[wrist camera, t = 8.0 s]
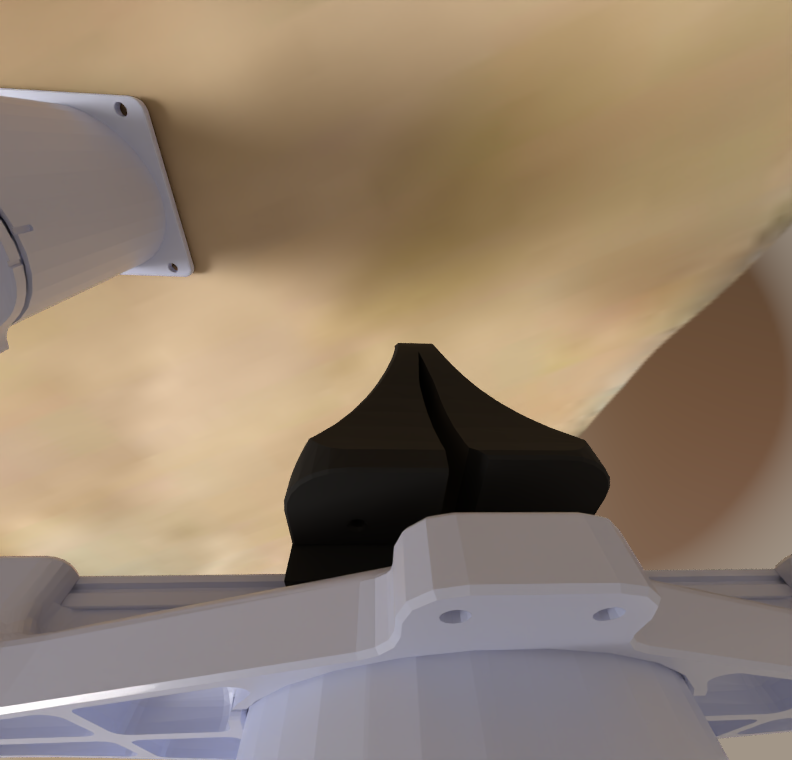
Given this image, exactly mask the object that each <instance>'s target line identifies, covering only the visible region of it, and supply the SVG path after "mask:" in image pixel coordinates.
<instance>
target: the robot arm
mask: <svg viewBox="0 0 792 760" xmlns="http://www.w3.org/2000/svg"><path fill="white" fill-rule="evenodd" d="M121 103H122V104H123V105H124V106H125V107H126V109H127V115H126V116H124V115H123V114H122V112H121V110H120V105H121ZM172 263H173V264H175V265H176V266H177V268H178V270H175V269H174V268H173V267H172ZM193 272H194V265H193V262H192V258H191V255H190V252H189V248H188V245H187V241H186V238H185V235H184V231H183V228H182V224H181V221H180V218H179V214H178V211H177V207H176V204H175V201H174V197H173V194H172V190H171V187H170V183H169V180H168V177H167V173H166V170H165V166H164V163H163V160H162V156H161V153H160V149H159V146H158V143H157V139H156V136H155V132H154V129H153V126H152V122H151V119H150V115H149V112H148V110H147V107H146V106H145V104H144V103H143V102H142V101H141V100H140V99H138V98H136V97H132V96H124V95H108V94H91V93H74V92H57V91H41V90H24V89H7V88H0V353H2V352H4V351H5V350H7V349H9V346H8V342H7V331H8V328H9V327H10V326H12V325H14V324H16V323H18V322H20V321H22V320H24V319H26V318H29V317H31V316H33V315H35V314H37V313H39V312H41V311H43V310H45V309H48V308H50V307H52V306H54V305H56V304H58V303H60V302H62V301H64V300H67V299H69V298H71V297H73V296H75V295H77V294H79V293H81V292H83V291H86V290H88V289H90V288H92V287H94V286H96V285H98V284H100V283H102V282H104V281H107V280H109V279H111V278H113V277H115V276H117V275H148V276H178V277H187V276H189V275H191V274H192V273H193ZM609 487H610V477H609V475H608V473H607V471H606V469H605V468H604V466H603V465H602V464H601V462H600V460H599V459H598V457H597V456H596V454H595V453H594V452H593V451H592V449H591V447H590V446H589V445H588V444H587V442H586V441H585V440H583V439H580V438H577V437H575V436H572V435H569V434H566V433H563V432H561V431H558V430H555V429H552V428H550V427H547V426H545V425H543V424H541V423H538V422H536V421H534V420H532V419H529V418H527V417H525V416H523V415H521V414H519V413H517V412H515V411H514V410H512V409H510V408H508V407H507V406H505V405H503V404H501V403H500V402H498V401H496V400H495V399H493V398H492V397H490V396H489V395H487V394H486V393H485V392H483V391H482V390H480V389H479V388H478V387H476V386H475V385H474V384H473V383H471V382H470V381H469V380H468V379H467V378H465V377H464V376H463V375H462V374H461V373H460V372H459V371H458V370H457V369H456V368H455V367H454V366H453V365H452V364H451V363H450V362H449V361H448V360H447V359H446V358H445V357H444V356H443V355H442V354H441V353H440V352H439V351H438V349H437V348H436V347H435V346H434V345H433V344H417V343H398V344H397V345H395V351H394V354H393V357H392V359H391V362H390V363H389V365H388V367H387V369H386V371H385V373H384V374H383V376H382V377H381V379H380V381H379V382H378V384H377V385H376V386H375V388H374V389H373V390H372V391H371V393H370V394H369V395H368V396H367V397H366V398H365V399H364V400H363V401H362V402H361V403H360V404H359V405H358V406H357V407H356V408H355V409H354V410H353V411H352V412H351V413H349V414H348V415H347V416H346V417H344V418H343V419H342V420H340V421H339V422H338V423H336V424H335V425H333V426H332V427H330V428H328V429H326V430H325V431H323V432H321V433H319V434H318V435H316V436H314V437H312V438H310V439H309V440H308V442H307V444H306V445H305V447H304V449H303V451H302V453H301V455H300V457H299V459H298V461H297V463H296V465H295V468H294V470H293V472H292V475H291V478H290V481H289V485H288V488H287V492H286V496H285V499H284V511H285V515H286V519H287V523H288V527H289V531H290V535H291V539H292V543H293V544H292V549H291V553H290V557H289V562H288V566H287V570H286V574H249V575H157V576H79V574H78V572H77V571H76V569H75V568H74V567H73V566H72V565H71V564H70V563H68V562H67V561H65V560H63V559H60V558H57V557H50V556H0V758H1V757H2V758H3V757H81V758H82V757H84V758H86V757H87V758H130V759H131V758H132V759H171V760H173V759H174V760H729V759H728V757H727V755H726V753H725V752H724V750H723V748H722V746H721V745H720V743H719V741H718V739H719V738H729V737H739V736H750V735H760V734H771V733H782V732H792V554H791V555H789V556H787V557H785V558H784V559H783V560H782V561H780V562H779V563H778V564H777V565H776V567H775V569H723V570H722V569H718V570H717V569H716V570H715V569H711V570H643V568H642V566H641V564H640V563H639V561H638V560H637V558H636V556H635V555H634V553H633V552H632V550H631V548H630V547H629V545H628V544H627V542H626V540H625V539H624V537H623V535H622V534H621V532H620V530H618V529H617V528H616V526H615V525H614V524H613V523H612V522H611V521H610V520H609V519H608V518H604V517H601V516H596V515H595V513H596V512H597V510H598V508H599V507H600V505H601V504H602V502H603V501H604V499H605V497H606V494H607V492H608V490H609Z"/></svg>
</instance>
